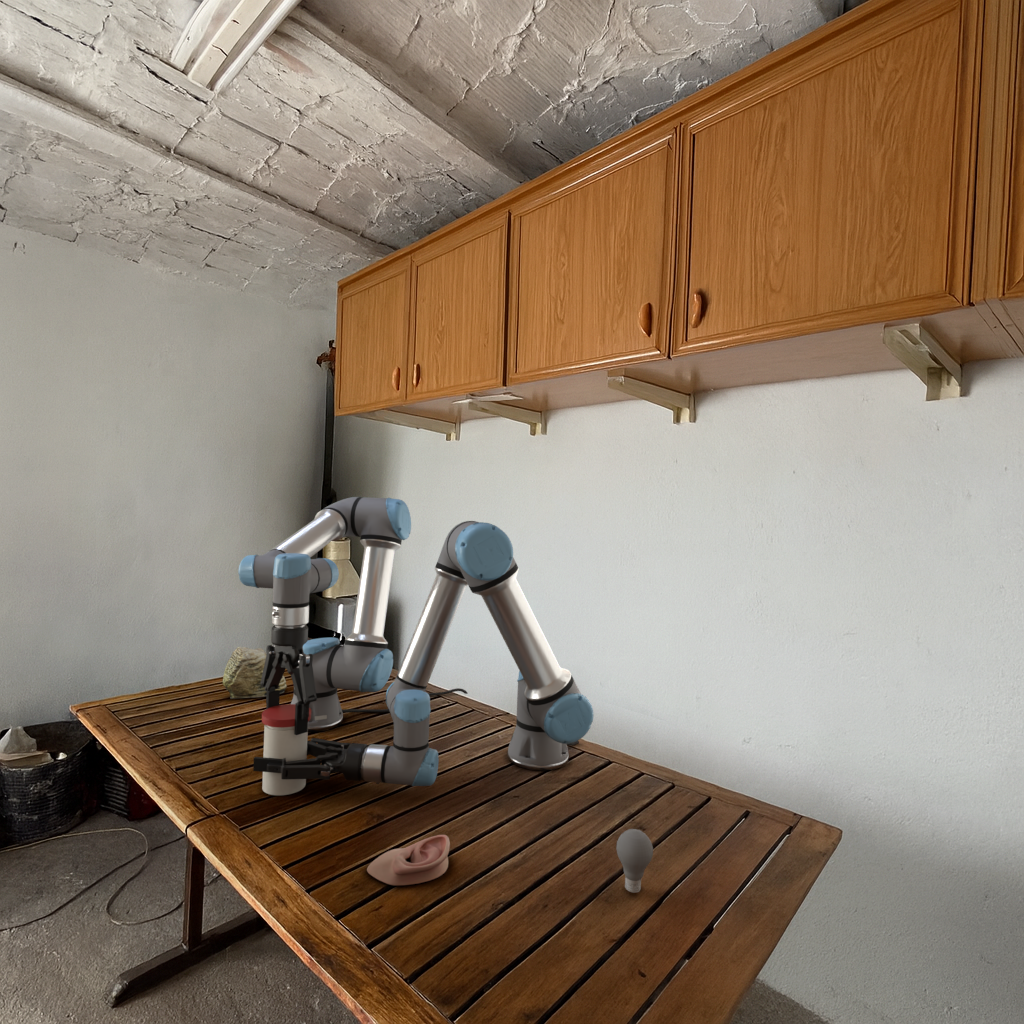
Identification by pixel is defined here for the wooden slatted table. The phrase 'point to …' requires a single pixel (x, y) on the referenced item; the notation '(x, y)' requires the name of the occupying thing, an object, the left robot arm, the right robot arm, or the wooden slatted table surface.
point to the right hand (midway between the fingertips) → (265, 754)
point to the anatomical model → (412, 862)
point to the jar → (283, 746)
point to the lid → (280, 716)
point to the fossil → (247, 674)
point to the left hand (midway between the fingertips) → (286, 726)
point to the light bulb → (634, 857)
